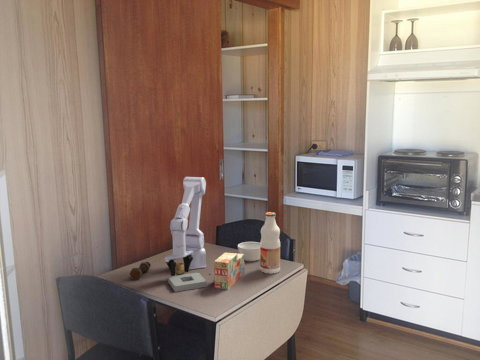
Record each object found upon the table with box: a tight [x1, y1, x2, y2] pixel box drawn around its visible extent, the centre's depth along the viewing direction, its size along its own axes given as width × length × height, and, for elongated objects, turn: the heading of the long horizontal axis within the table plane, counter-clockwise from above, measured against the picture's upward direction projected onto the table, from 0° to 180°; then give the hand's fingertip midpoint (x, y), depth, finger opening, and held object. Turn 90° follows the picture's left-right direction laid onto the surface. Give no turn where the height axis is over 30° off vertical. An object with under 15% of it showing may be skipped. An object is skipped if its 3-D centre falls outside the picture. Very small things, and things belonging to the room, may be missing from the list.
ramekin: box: [237, 241, 260, 262], centre depth 225 cm, size 13×13×7 cm
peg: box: [175, 262, 185, 276], centre depth 197 cm, size 4×4×6 cm
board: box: [167, 272, 208, 293], centre depth 190 cm, size 14×12×2 cm
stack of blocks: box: [213, 252, 245, 290], centre depth 194 cm, size 21×6×12 cm, turn 160°
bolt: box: [129, 261, 151, 280], centre depth 203 cm, size 6×5×15 cm
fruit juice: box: [259, 211, 281, 275], centre depth 204 cm, size 9×9×28 cm
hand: (179, 273), depth 197 cm, fingers open, 7 cm apart
